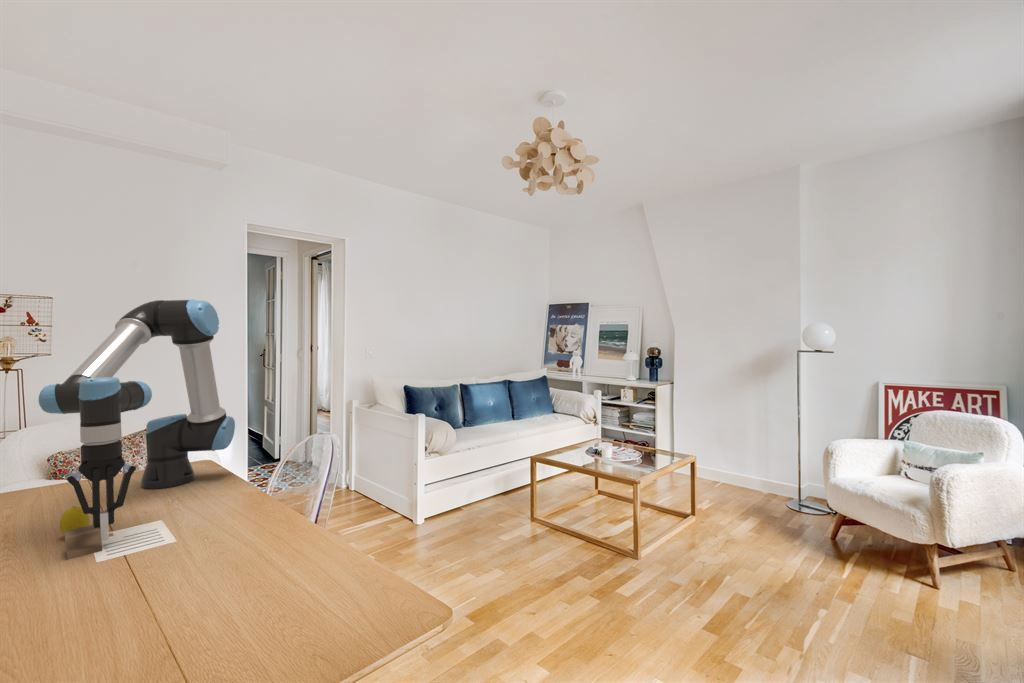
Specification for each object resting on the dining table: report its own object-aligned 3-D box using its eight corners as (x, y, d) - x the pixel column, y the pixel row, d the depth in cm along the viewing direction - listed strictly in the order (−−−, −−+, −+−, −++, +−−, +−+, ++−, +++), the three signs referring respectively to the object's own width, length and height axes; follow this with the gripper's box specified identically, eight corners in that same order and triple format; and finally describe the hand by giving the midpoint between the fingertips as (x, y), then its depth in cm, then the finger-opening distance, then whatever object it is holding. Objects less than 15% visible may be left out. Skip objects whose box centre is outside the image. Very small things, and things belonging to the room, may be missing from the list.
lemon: (95, 533, 124) (94, 502, 124) (73, 542, 118) (73, 510, 118) (76, 532, 124) (75, 502, 124) (53, 541, 119) (52, 510, 119)
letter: (161, 520, 132) (161, 519, 132) (177, 542, 118) (177, 541, 118) (89, 537, 121) (89, 536, 121) (96, 563, 107) (96, 562, 107)
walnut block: (99, 543, 117) (97, 523, 117) (102, 550, 113) (100, 529, 113) (66, 552, 113) (64, 531, 113) (67, 560, 109) (65, 539, 108)
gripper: (133, 435, 122) (135, 526, 123) (63, 444, 113) (66, 543, 113) (137, 439, 117) (140, 534, 117) (65, 449, 108) (68, 552, 108)
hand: (104, 538), depth 115 cm, fingers closed
